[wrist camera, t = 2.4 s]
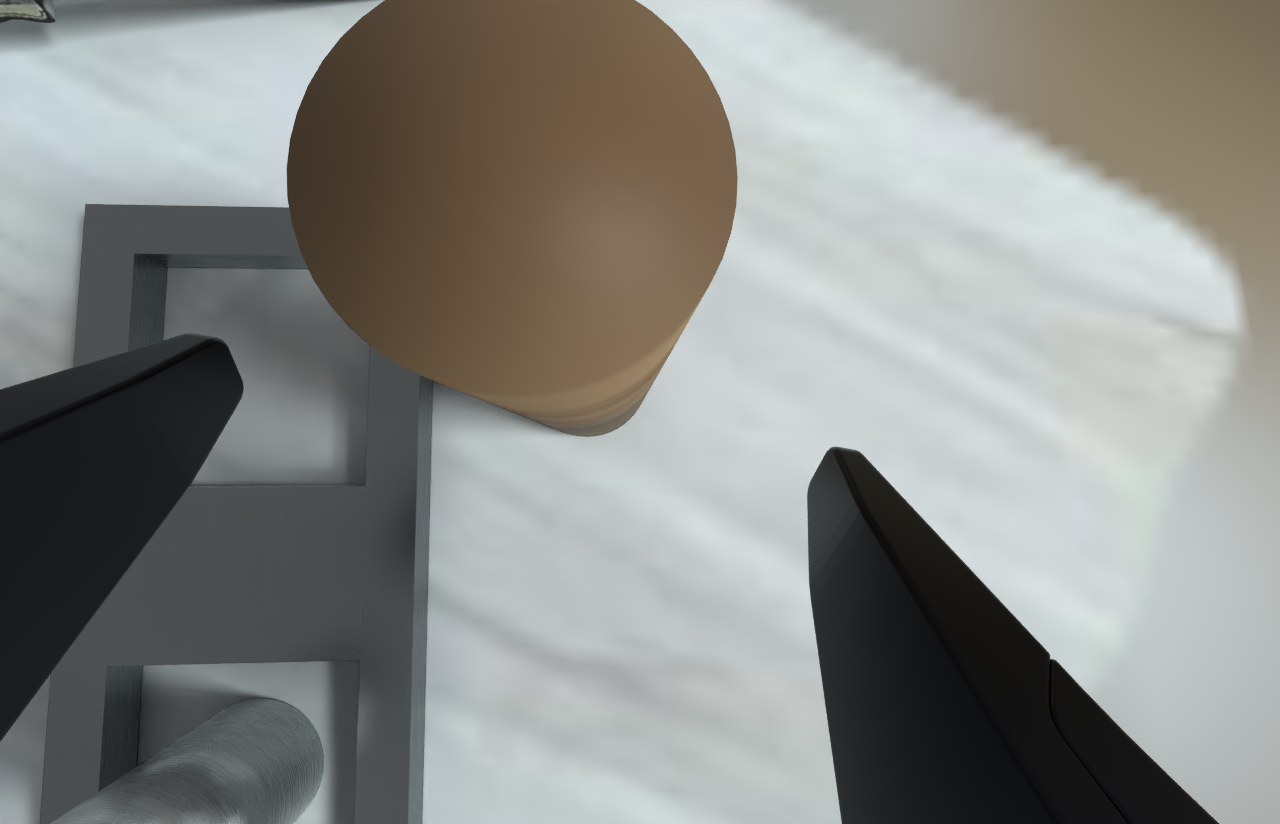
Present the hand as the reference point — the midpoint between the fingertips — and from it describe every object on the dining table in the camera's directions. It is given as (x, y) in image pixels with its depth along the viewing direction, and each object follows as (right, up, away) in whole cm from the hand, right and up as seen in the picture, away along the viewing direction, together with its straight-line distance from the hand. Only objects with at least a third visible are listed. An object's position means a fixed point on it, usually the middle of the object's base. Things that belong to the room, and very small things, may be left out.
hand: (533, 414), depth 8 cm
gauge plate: (-10, -5, +9) cm, 14 cm away
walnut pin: (0, +1, +10) cm, 10 cm away
